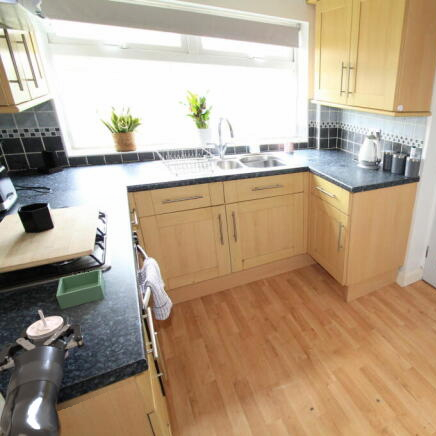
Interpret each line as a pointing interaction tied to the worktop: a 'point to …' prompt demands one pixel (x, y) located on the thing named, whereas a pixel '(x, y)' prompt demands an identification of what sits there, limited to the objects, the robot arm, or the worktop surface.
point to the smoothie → (45, 328)
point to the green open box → (80, 288)
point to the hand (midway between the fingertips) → (48, 325)
